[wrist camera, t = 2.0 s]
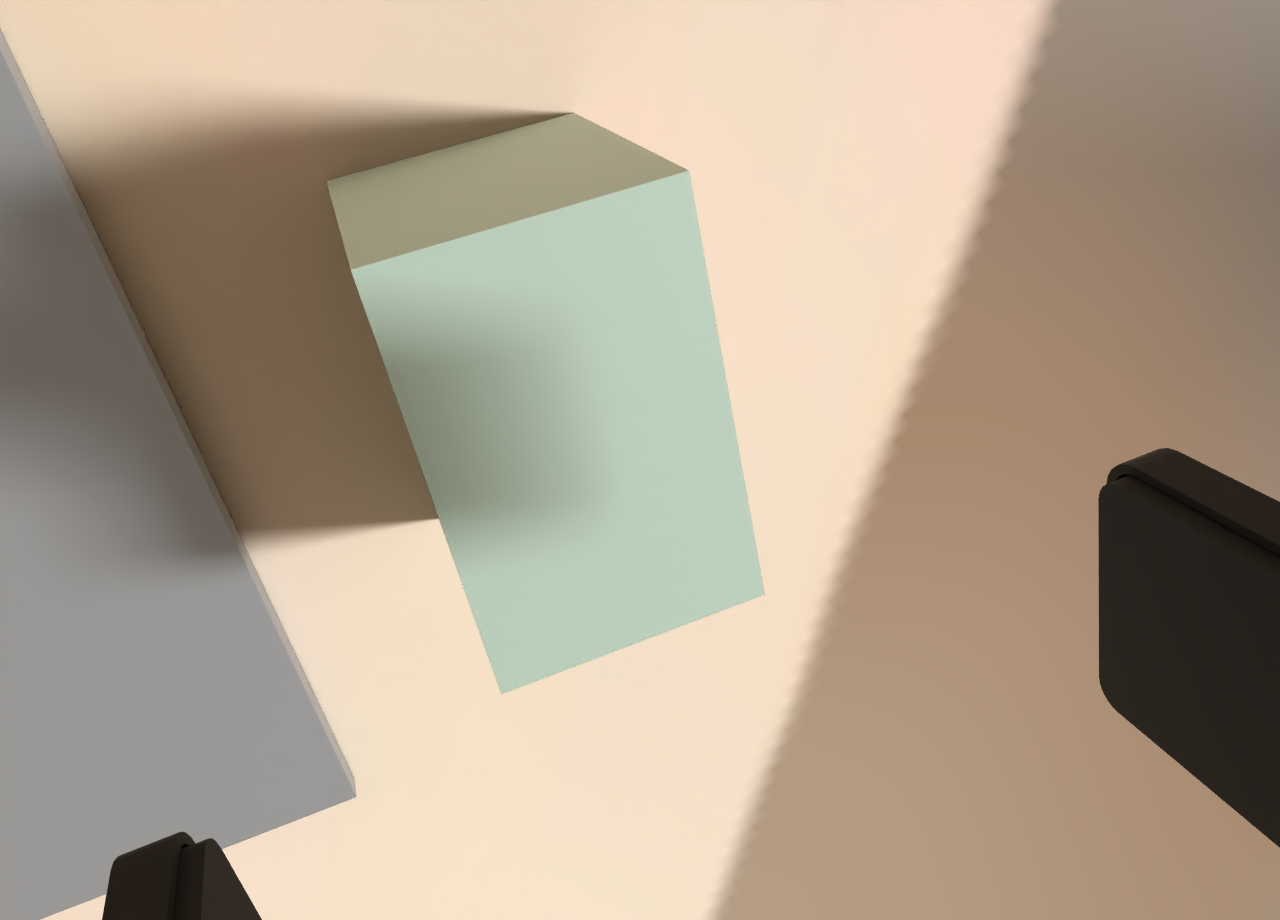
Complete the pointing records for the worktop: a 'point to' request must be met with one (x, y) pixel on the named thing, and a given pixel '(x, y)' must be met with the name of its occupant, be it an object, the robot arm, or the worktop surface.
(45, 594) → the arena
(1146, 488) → the robot arm
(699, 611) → the green block
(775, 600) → the worktop surface
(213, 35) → the worktop surface
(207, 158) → the worktop surface
